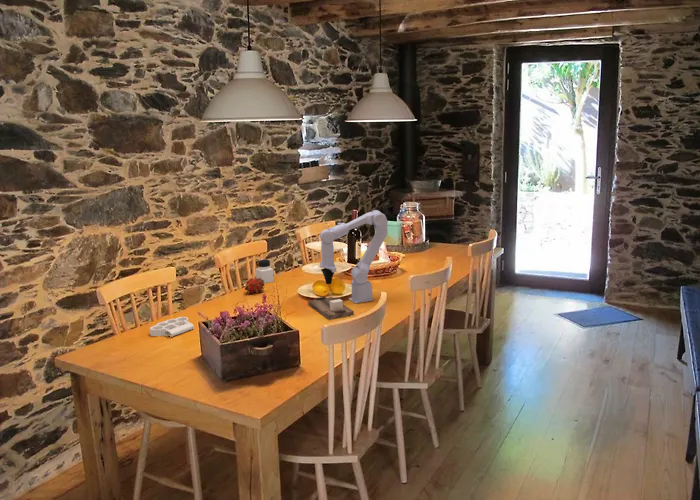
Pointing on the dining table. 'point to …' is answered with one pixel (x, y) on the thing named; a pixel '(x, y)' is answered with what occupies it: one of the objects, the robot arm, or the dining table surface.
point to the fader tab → (336, 305)
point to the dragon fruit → (254, 285)
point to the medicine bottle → (265, 271)
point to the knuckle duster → (171, 327)
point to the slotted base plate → (324, 308)
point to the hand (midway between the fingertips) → (328, 283)
